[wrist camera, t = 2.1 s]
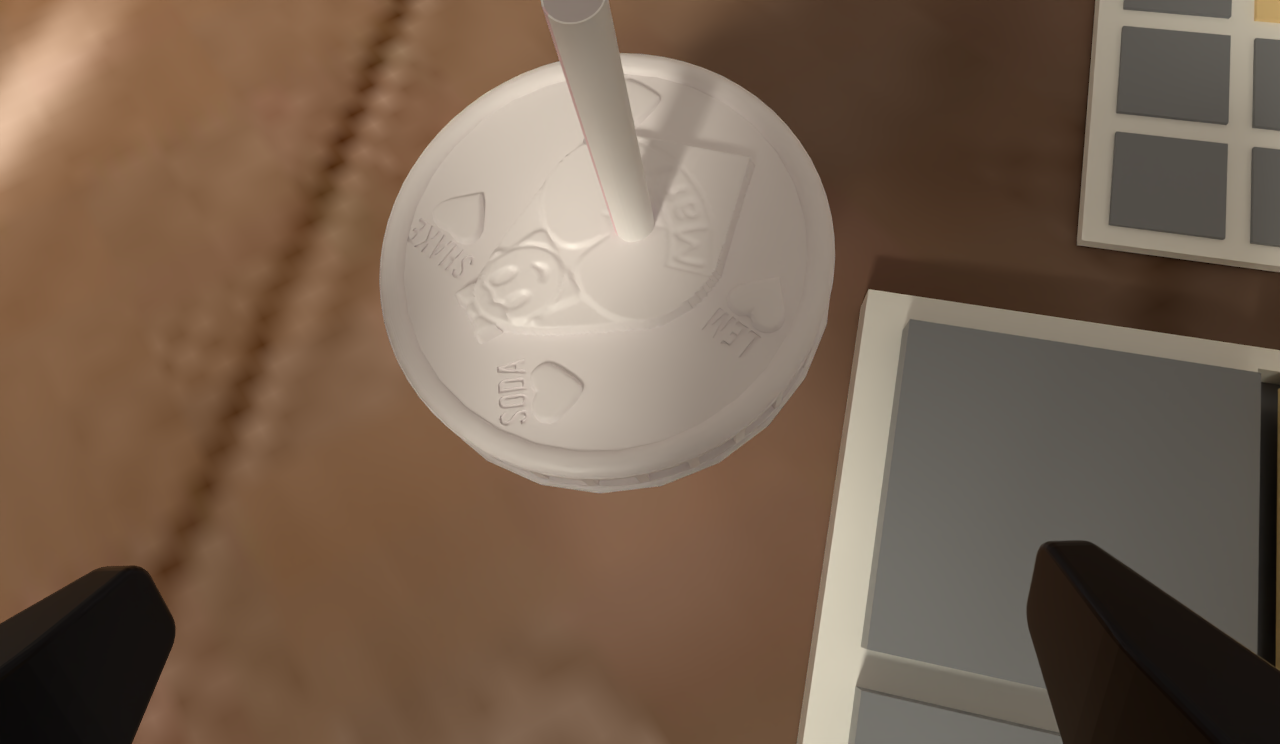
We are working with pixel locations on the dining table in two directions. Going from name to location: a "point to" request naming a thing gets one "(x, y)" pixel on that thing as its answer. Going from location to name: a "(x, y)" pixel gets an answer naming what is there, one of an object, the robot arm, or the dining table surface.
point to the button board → (1025, 506)
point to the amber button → (1278, 545)
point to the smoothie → (608, 266)
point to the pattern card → (1184, 131)
